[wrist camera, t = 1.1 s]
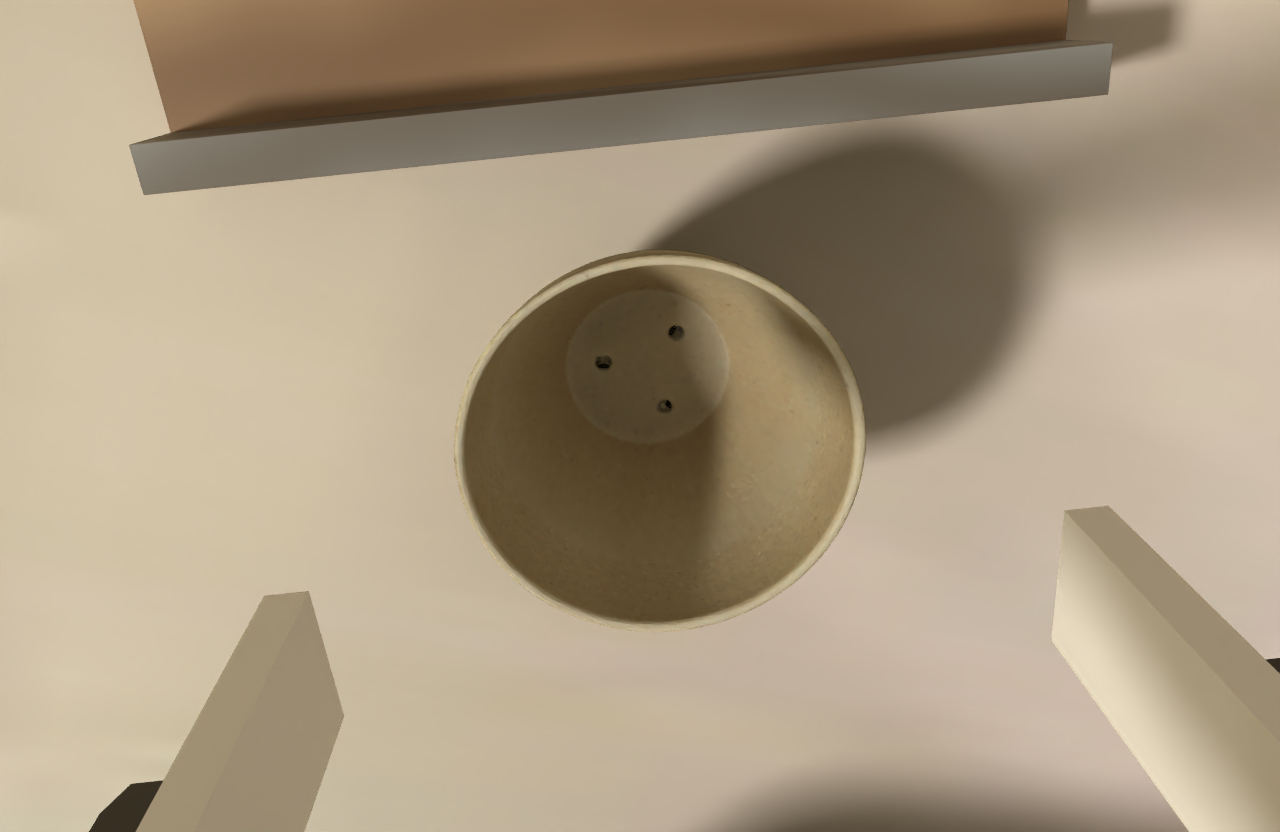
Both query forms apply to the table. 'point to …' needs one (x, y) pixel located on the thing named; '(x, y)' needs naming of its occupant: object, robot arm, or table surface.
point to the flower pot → (660, 441)
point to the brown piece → (566, 75)
